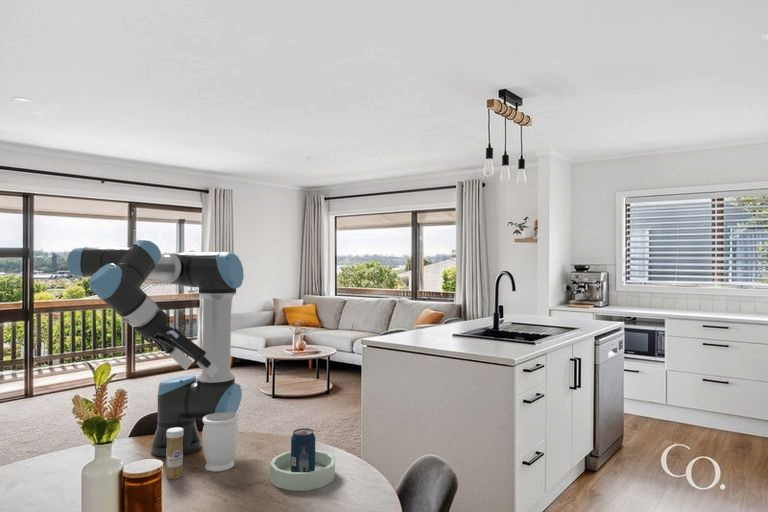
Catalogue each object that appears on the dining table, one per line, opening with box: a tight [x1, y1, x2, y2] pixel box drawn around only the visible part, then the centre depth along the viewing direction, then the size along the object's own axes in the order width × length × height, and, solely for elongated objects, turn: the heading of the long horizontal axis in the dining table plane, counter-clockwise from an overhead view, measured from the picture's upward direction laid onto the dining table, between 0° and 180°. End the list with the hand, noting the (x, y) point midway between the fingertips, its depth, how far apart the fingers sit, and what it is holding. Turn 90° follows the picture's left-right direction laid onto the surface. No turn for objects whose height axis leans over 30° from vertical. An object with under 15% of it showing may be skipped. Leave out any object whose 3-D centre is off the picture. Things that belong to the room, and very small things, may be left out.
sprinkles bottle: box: [165, 427, 184, 480], centre depth 148 cm, size 5×5×14 cm
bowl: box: [269, 449, 336, 492], centre depth 149 cm, size 18×18×4 cm
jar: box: [201, 412, 239, 473], centre depth 156 cm, size 11×10×15 cm
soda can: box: [290, 428, 316, 472], centre depth 149 cm, size 7×7×12 cm
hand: (201, 369), depth 138 cm, fingers open, 13 cm apart
